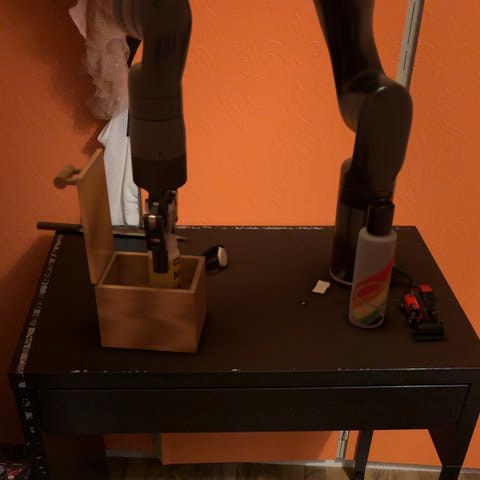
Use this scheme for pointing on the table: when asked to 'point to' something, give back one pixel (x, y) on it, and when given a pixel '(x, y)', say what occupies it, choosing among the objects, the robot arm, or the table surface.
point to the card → (321, 287)
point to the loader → (422, 313)
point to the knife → (79, 228)
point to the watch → (219, 261)
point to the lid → (92, 210)
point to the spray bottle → (373, 266)
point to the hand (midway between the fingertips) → (164, 263)
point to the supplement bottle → (173, 276)
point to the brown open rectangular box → (150, 305)
